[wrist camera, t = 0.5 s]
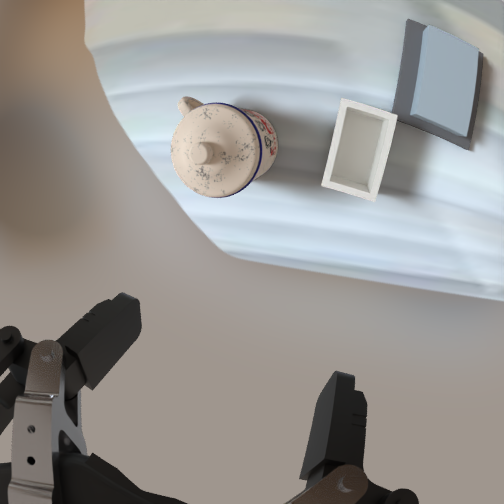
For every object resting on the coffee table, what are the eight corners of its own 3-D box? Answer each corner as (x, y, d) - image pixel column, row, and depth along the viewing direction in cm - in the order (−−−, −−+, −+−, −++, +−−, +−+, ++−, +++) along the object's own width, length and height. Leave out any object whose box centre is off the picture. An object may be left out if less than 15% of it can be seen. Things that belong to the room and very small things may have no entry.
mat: (406, 21, 20) (408, 18, 19) (479, 55, 18) (483, 53, 18) (390, 117, 26) (392, 117, 25) (465, 149, 24) (468, 149, 24)
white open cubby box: (340, 102, 27) (341, 97, 23) (388, 117, 26) (397, 115, 22) (323, 177, 31) (320, 185, 27) (369, 191, 30) (374, 202, 26)
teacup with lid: (296, 150, 31) (275, 160, 21) (240, 195, 35) (197, 226, 25) (230, 76, 29) (181, 58, 19) (181, 126, 34) (121, 131, 23)
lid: (423, 31, 19) (429, 24, 17) (469, 53, 18) (478, 48, 16) (409, 115, 25) (416, 113, 22) (457, 135, 23) (466, 136, 21)
